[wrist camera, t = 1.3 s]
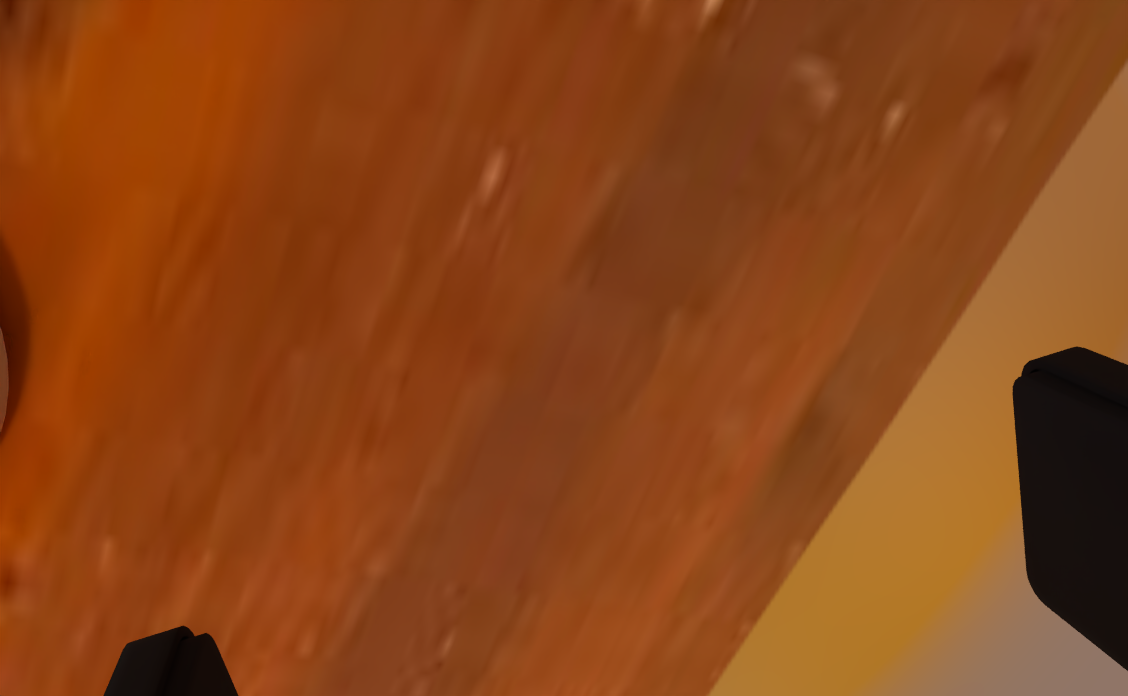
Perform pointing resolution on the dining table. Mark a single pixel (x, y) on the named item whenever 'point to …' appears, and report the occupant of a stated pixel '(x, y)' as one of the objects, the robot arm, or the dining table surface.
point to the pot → (3, 380)
